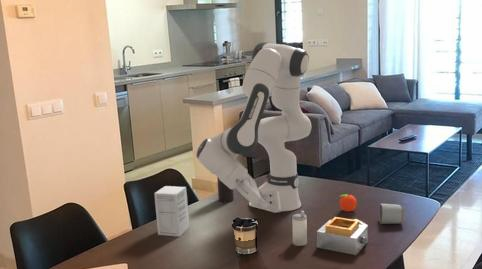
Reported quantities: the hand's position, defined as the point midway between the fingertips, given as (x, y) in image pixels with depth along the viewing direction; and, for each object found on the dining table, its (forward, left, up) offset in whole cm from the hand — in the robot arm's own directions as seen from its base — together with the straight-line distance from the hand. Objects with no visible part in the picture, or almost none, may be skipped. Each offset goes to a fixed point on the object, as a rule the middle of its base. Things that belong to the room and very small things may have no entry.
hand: (265, 201), depth 183 cm
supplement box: (-38, -4, -17) cm, 42 cm away
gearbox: (+24, +12, -16) cm, 31 cm away
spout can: (+10, +7, -16) cm, 20 cm away
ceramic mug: (+32, +40, -17) cm, 54 cm away
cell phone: (+19, +28, -17) cm, 38 cm away
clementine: (+14, +44, -17) cm, 49 cm away
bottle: (-39, +35, -17) cm, 55 cm away
